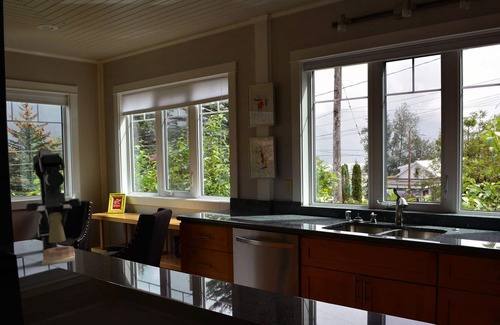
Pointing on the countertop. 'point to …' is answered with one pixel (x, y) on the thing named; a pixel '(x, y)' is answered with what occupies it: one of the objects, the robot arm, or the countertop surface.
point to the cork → (56, 228)
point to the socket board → (58, 255)
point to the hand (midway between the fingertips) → (56, 226)
